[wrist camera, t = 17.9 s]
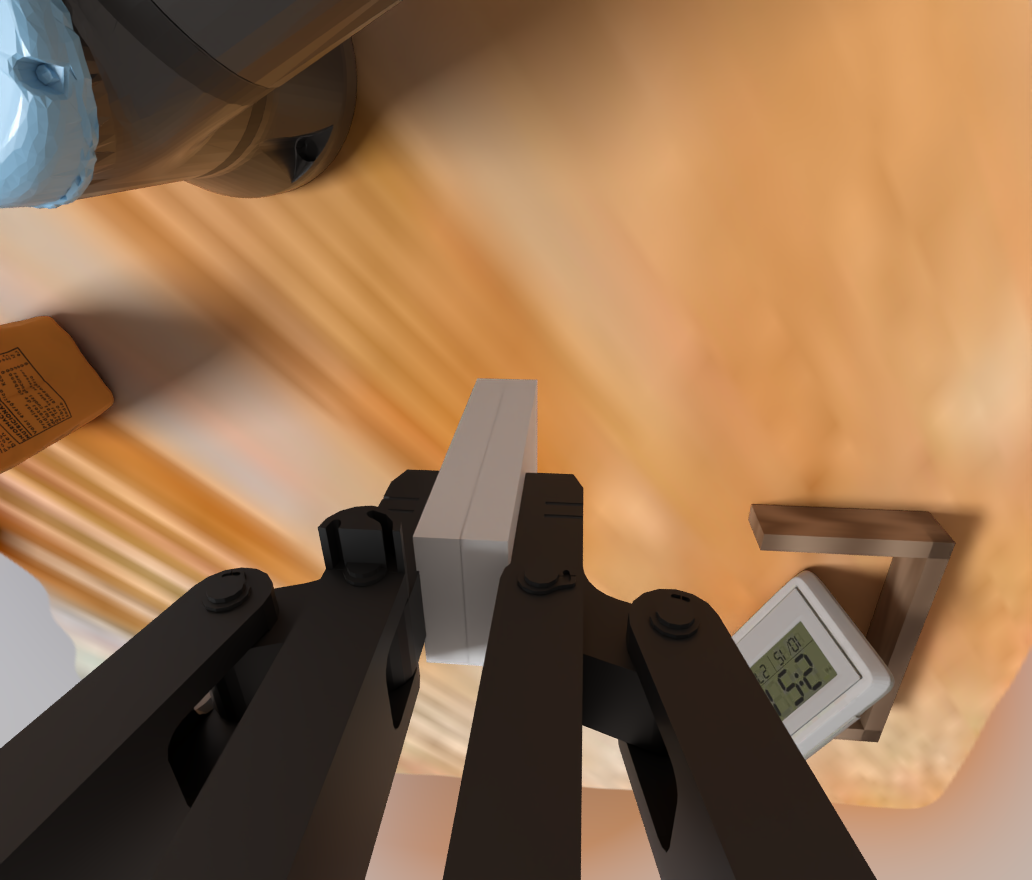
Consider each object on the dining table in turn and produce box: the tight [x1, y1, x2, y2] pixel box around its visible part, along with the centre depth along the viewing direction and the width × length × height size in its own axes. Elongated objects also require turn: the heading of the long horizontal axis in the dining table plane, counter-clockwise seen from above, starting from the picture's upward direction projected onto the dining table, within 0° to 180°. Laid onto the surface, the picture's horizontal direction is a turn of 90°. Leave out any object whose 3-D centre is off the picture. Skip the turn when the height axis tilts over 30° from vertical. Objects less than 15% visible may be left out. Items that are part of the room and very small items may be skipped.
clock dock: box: [748, 504, 955, 742], centre depth 53 cm, size 14×22×4 cm, turn 1°
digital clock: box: [732, 570, 895, 760], centre depth 52 cm, size 16×9×11 cm, turn 140°
